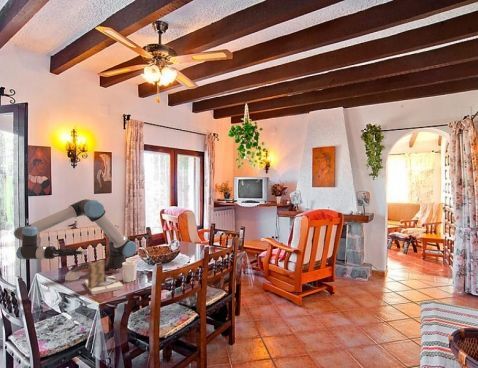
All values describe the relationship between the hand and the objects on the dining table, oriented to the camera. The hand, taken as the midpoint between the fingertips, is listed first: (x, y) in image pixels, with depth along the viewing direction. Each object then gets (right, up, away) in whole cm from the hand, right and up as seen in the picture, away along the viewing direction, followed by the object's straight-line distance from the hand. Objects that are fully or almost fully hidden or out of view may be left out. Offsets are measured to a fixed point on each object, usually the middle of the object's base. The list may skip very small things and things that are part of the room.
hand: (87, 252), depth 178 cm
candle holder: (+18, -25, +21) cm, 37 cm away
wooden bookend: (+5, -22, +6) cm, 23 cm away
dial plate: (+6, -24, +9) cm, 26 cm away
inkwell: (-19, -24, +24) cm, 39 cm away
